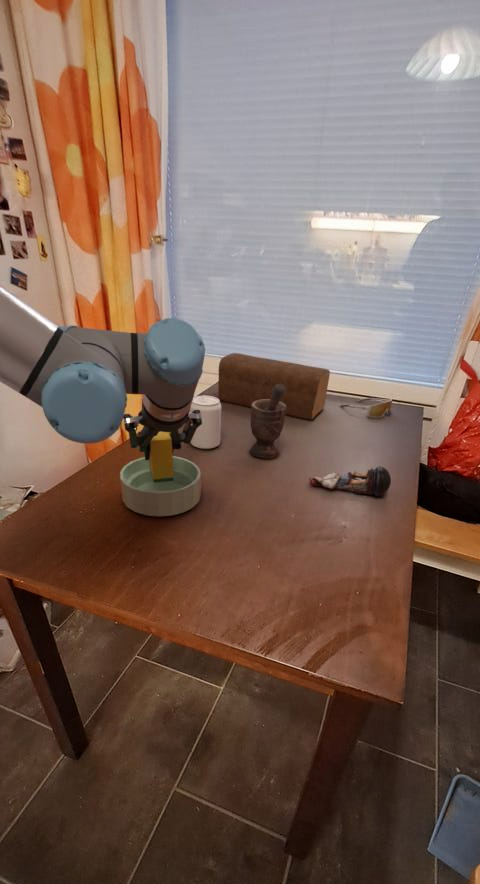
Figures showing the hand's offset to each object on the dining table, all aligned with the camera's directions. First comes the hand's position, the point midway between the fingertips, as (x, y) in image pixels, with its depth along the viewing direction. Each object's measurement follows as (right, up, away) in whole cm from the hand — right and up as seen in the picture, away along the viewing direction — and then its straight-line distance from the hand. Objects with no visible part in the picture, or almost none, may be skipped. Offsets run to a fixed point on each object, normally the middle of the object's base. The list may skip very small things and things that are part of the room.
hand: (157, 452), depth 88 cm
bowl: (+1, -9, +2) cm, 9 cm away
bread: (+28, +26, +54) cm, 66 cm away
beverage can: (+8, +7, +26) cm, 28 cm away
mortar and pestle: (+24, +3, +22) cm, 33 cm away
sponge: (+1, -5, -1) cm, 5 cm away
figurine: (+42, -7, +10) cm, 44 cm away
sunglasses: (+61, +25, +56) cm, 86 cm away
